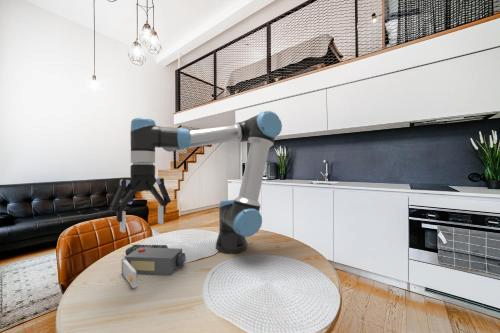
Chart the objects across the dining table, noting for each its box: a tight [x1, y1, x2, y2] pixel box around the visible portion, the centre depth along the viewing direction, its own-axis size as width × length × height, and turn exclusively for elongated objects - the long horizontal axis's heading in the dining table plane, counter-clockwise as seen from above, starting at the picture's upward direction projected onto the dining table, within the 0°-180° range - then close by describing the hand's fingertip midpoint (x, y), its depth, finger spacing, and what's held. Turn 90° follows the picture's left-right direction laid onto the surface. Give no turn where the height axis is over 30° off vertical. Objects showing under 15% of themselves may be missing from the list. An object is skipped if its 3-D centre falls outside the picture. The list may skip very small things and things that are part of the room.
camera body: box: [124, 247, 187, 276], centre depth 78 cm, size 20×9×7 cm, turn 85°
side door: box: [121, 257, 137, 289], centre depth 69 cm, size 13×2×5 cm, turn 45°
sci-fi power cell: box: [125, 244, 169, 256], centre depth 88 cm, size 4×19×10 cm
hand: (142, 227), depth 70 cm, fingers open, 12 cm apart
